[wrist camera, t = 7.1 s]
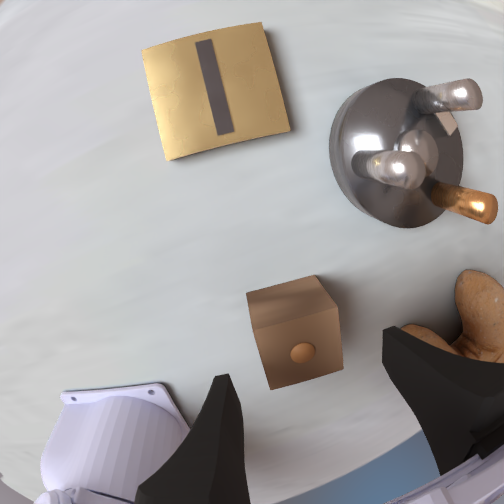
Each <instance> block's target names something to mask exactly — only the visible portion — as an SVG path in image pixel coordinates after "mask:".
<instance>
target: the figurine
mask: <svg viewBox="0 0 504 504" xmlns="http://www.w3.org/2000/svg"><path fill="white" fill-rule="evenodd" d="M455 302H456V306H457V308H458V311H459V314H460V317H461V320H462V324H463V332H462V333H461V335H460V336H459V338H458V339H457V340H456V341H455V342H453V343H452V344H451V345H448V344H447V343H446V342H445V340H444V339H443V338H441V337H440V336H438V335H437V334H436V333H434V332H433V331H431V330H430V329H428V328H425V327H421V326H417V325H414V324H409V325H405V326H403V327H402V328H401V330H403V331H405V332H407V333H409V334H411V335H413V336H415V337H417V338H419V339H421V340H423V341H425V342H427V343H429V344H431V345H433V346H435V347H438V348H440V349H443V350H445V351H448V352H450V353H453V354H456V355H460V356H463V357H467V358H471V359H475V360H480V361H487V362H496V363H504V289H503V287H502V286H501V285H500V284H499V283H498V282H497V281H496V280H495V279H494V278H492V277H490V276H489V275H487V274H485V273H482V272H477V271H474V270H465V271H463V272H462V273H461V274H460V275H459V277H458V278H457V282H456V286H455Z"/></svg>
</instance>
